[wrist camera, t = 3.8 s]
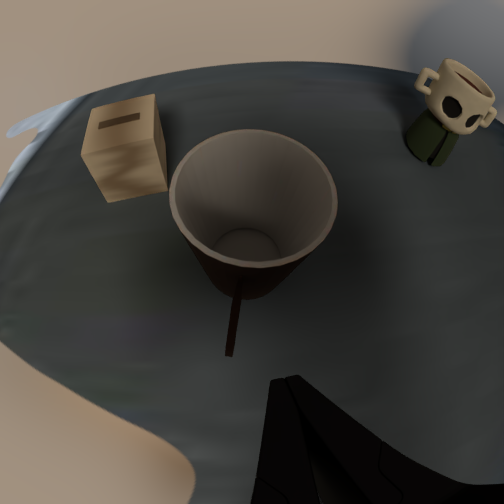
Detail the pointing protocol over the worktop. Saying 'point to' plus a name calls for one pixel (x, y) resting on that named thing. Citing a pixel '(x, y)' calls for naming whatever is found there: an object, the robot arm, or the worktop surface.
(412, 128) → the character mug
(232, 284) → the coffee mug
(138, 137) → the numbered maple block
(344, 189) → the worktop surface
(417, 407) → the worktop surface
